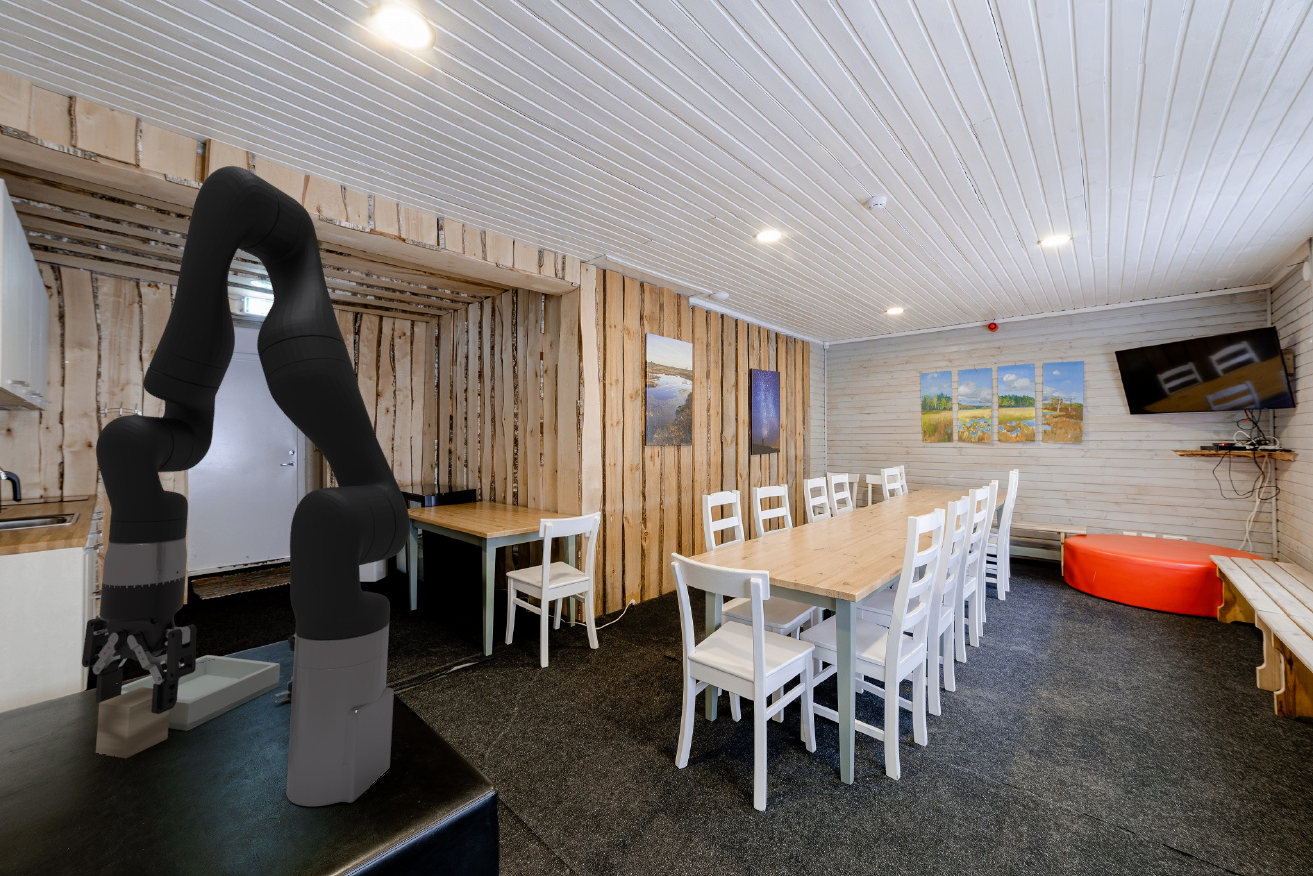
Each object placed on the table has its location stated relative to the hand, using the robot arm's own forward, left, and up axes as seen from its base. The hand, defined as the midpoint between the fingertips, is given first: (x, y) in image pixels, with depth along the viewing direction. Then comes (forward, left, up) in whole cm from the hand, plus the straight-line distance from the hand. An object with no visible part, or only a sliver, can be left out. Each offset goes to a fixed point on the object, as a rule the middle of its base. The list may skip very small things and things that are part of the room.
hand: (135, 706), depth 65 cm
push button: (-9, -15, -5) cm, 18 cm away
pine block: (0, 0, -5) cm, 5 cm away
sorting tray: (+4, -11, -5) cm, 12 cm away
